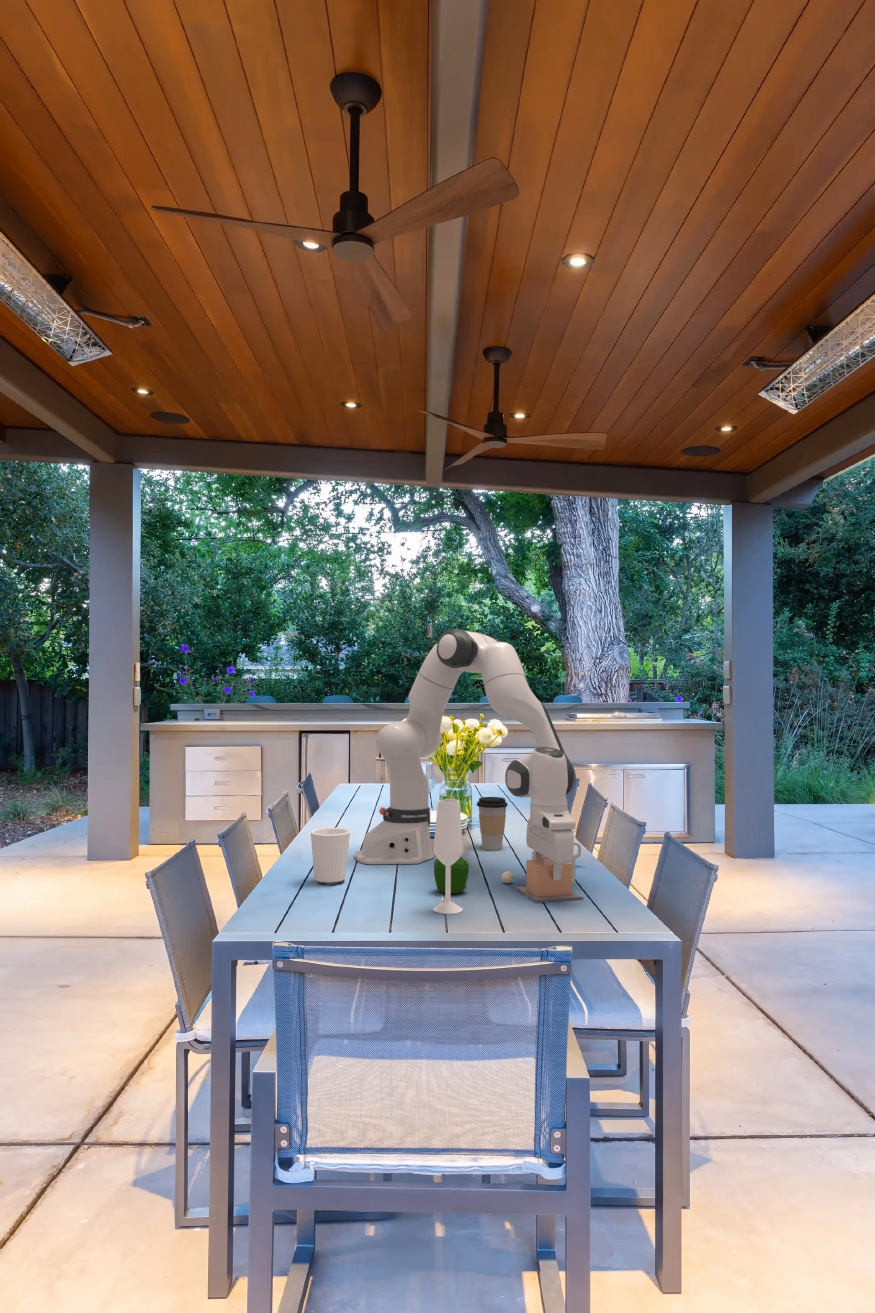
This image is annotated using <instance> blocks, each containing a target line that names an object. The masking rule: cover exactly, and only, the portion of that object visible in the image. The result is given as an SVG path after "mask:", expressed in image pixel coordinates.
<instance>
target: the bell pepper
mask: <svg viewBox="0 0 875 1313" xmlns="http://www.w3.org/2000/svg"><path fill="white" fill-rule="evenodd" d="M433 864H434V865H433V876H434V880H435V881H434V882H435V885H436V889H437V890H438V891H439V892H440V893H443V894H445V875H446V866H445V865H444V864H442V863H441V862H440V861H439V860H438V859H437V858H435V860H434V863H433ZM469 867H470V866H469V863H468V861H467V860H466V859H464V857H462V856H461V857H460V858H459V859H458V860H457V861H456V862H455V863H454V864H453V865H451V894H460V893H463V892H464V890H465V888H466V885H467V884H466V882H467V883H468V878H469V872H470V870H469Z"/></svg>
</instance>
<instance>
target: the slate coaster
mask: <svg viewBox="0 0 875 1313" xmlns="http://www.w3.org/2000/svg"><path fill="white" fill-rule="evenodd" d="M516 891H518V892H519V893H520V894H522V895H524V896H525V895H526V896H527V897H526V896H525V897H526V898H528V899H529V900H531V901H532V900H533V903H535V904H539V903H549V902H550V903H553V902H566V901H578V900H581V901H582V900H584V896H583V895H581V894H579V893H578V892H576V891H575V890H573V889H572V894H565V895H551V896H537V897H536V896H535V895H534V894H532V893H531V892H529V891H528V890H526V885H525V886H516Z"/></svg>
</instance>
